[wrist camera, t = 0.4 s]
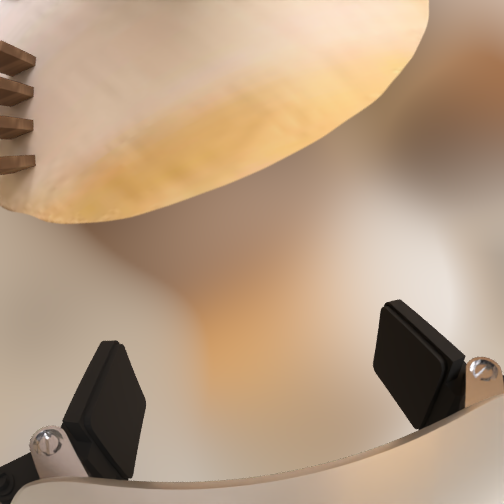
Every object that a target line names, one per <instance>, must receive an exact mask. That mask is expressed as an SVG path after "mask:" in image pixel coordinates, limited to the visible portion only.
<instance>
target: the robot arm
mask: <svg viewBox="0 0 504 504" xmlns="http://www.w3.org/2000/svg"><path fill="white" fill-rule="evenodd" d="M464 359H465V355H464V354H463V353H462V352H461V351H459V350H458V349H457V348H456V347H455V346H454V345H453V344H452V343H451V342H449V341H448V340H447V339H446V338H445V337H444V336H443V335H441V334H440V333H439V332H438V331H437V330H436V329H435V328H433V327H432V326H431V325H430V324H429V323H428V322H427V321H425V320H424V319H423V318H422V317H421V316H420V315H418V314H417V313H416V312H415V311H414V310H412V309H411V308H410V307H409V306H407V305H406V304H405V303H404V302H403V301H402V300H395V301H391V302H387V303H385V305H384V307H382V309H381V313H380V320H379V329H378V335H377V342H376V349H375V355H374V361H373V367H374V371H375V372H376V374H377V375H378V377H379V378H380V380H381V381H382V382H383V384H384V385H385V387H386V388H387V389H388V391H389V392H390V394H391V395H392V396H393V398H394V400H395V401H396V402H397V404H398V405H399V407H400V408H401V410H402V411H403V412H404V414H405V415H406V417H407V418H408V420H409V421H410V423H411V424H412V425H413V427H414V428H415V429H419V430H418V431H416V432H414V433H412V434H409V435H407V436H405V437H402V438H400V439H397V440H395V441H392V442H389V443H387V444H385V445H382V446H379V447H376V448H374V449H370V450H367V451H364V452H361V453H358V454H355V455H352V456H348V457H345V458H342V459H338V460H335V461H331V462H327V463H324V464H319V465H315V466H311V467H307V468H302V469H298V470H293V471H288V472H282V473H277V474H271V475H264V476H258V477H250V478H242V479H232V480H221V481H205V482H145V481H144V482H143V481H128V478H132V476H133V473H134V467H135V460H136V455H137V449H138V444H139V439H140V433H141V428H142V423H143V418H144V413H145V409H146V401H145V397H144V395H143V393H142V390H141V388H140V385H139V383H138V381H137V378H136V376H135V373H134V371H133V368H132V366H131V363H130V360H129V358H128V355H127V352H126V350H125V347H124V345H123V344H119V342H118V341H102V342H101V343H100V345H99V347H98V349H97V351H96V353H95V355H94V356H93V359H92V360H91V362H90V364H89V366H88V368H87V370H86V372H85V374H84V376H83V378H82V380H81V382H80V384H79V386H78V388H77V390H76V393H75V394H74V397H73V399H72V401H71V403H70V405H69V407H68V410H67V412H66V414H65V416H64V418H63V423H62V425H61V428H60V427H57V426H46V427H42V428H41V429H39V430H37V431H36V432H35V433H34V434H33V436H32V438H31V439H30V444H29V447H30V451H31V452H30V453H28V454H26V455H24V456H22V457H20V458H18V459H16V460H14V461H12V462H10V463H8V464H5V465H3V466H1V467H0V504H504V375H502V370H501V367H500V366H499V365H498V363H497V362H495V361H494V360H492V359H490V358H486V357H475V358H472V359H471V360H469V362H468V363H467V364H466V363H465V362H464Z"/></svg>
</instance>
